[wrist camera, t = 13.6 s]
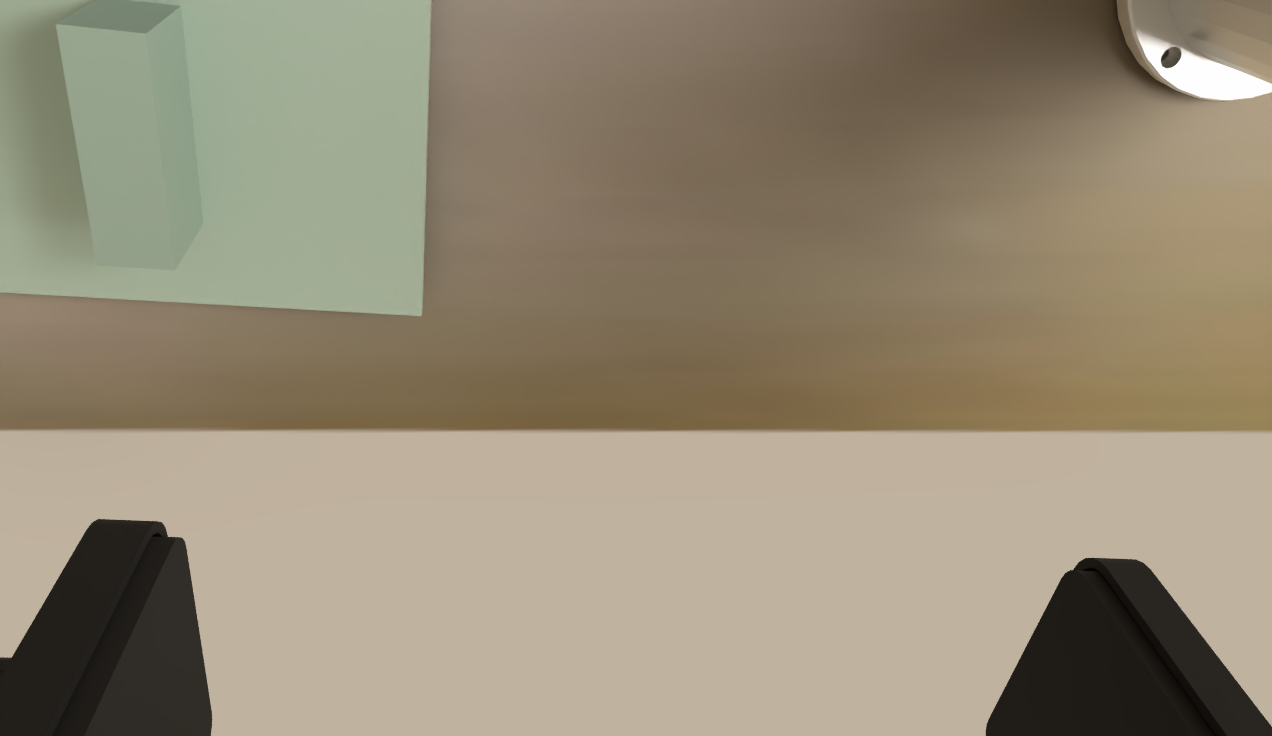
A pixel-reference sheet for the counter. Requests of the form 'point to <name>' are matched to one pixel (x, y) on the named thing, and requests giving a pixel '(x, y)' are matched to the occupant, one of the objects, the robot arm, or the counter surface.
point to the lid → (216, 151)
